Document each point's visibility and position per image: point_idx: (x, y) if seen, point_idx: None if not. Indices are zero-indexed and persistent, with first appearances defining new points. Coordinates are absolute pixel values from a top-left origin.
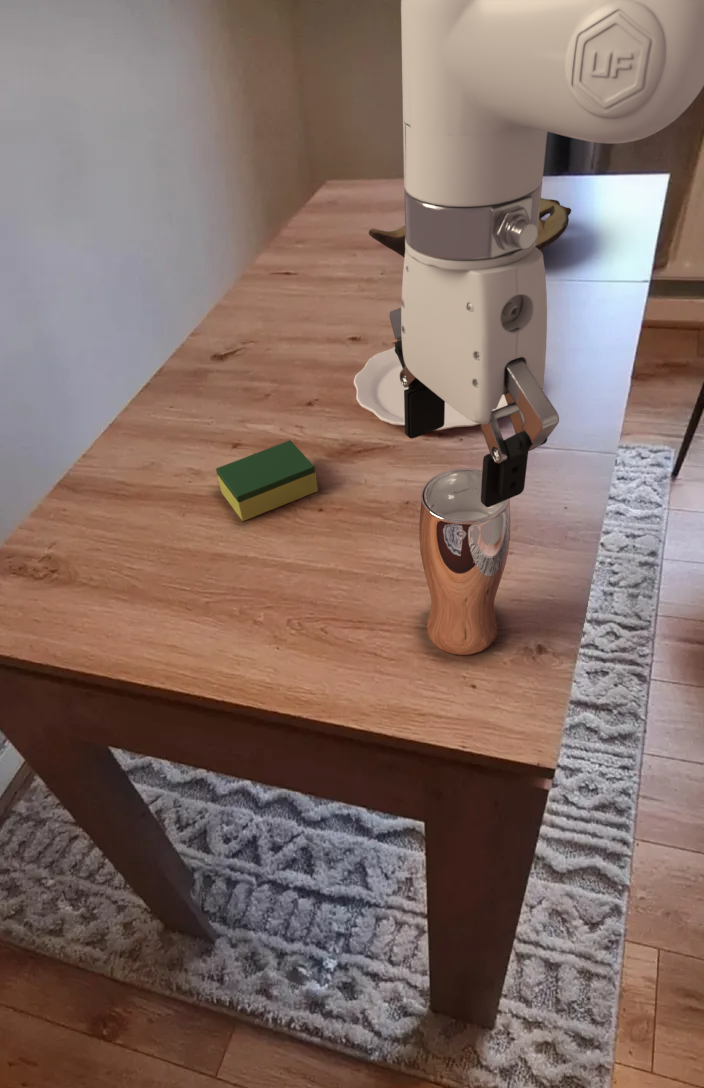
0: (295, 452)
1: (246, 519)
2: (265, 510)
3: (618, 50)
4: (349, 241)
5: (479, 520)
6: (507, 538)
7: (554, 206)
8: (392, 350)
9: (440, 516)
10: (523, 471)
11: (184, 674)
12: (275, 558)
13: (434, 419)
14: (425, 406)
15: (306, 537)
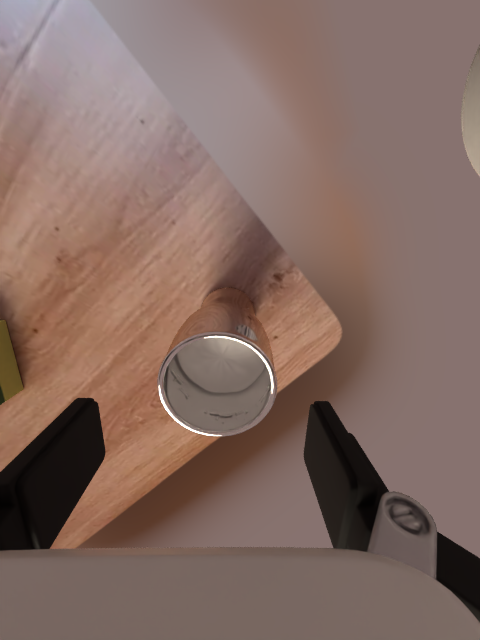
0: None
1: (22, 386)
2: (17, 370)
3: None
4: None
5: (272, 403)
6: (265, 335)
7: None
8: None
9: (237, 433)
10: (371, 464)
11: (163, 469)
12: (82, 386)
13: (87, 434)
14: (66, 483)
15: (67, 356)
